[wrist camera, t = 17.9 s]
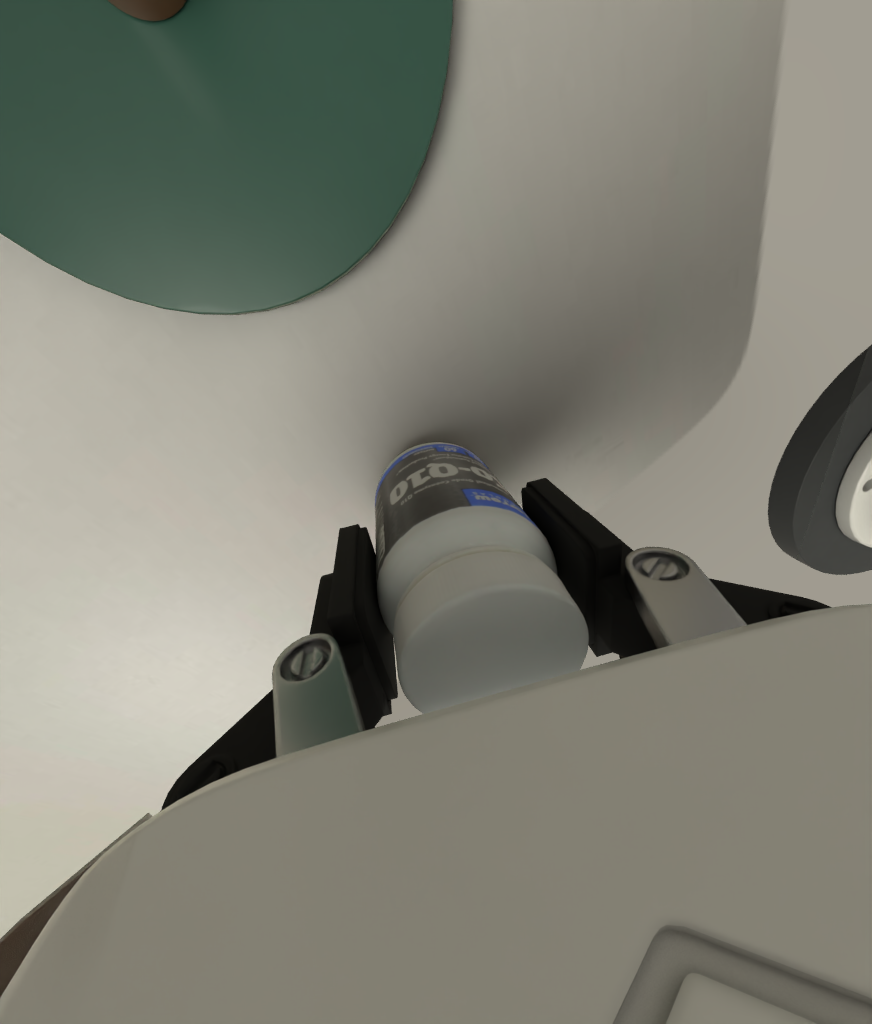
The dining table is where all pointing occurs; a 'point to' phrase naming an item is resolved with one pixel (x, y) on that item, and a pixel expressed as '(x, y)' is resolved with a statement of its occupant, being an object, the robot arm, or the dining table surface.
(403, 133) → the tin lid
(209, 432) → the dining table surface
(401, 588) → the pill bottle
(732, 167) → the dining table surface
